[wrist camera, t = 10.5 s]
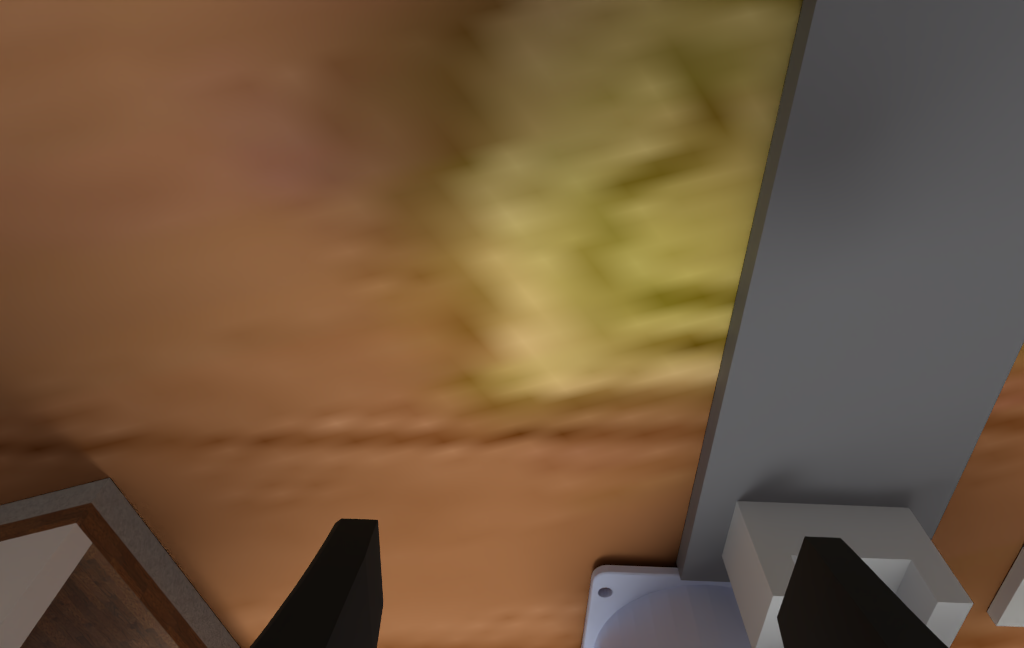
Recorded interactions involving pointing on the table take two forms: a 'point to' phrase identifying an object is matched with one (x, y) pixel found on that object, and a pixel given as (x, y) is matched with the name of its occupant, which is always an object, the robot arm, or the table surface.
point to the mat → (1010, 597)
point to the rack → (869, 304)
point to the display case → (94, 578)
